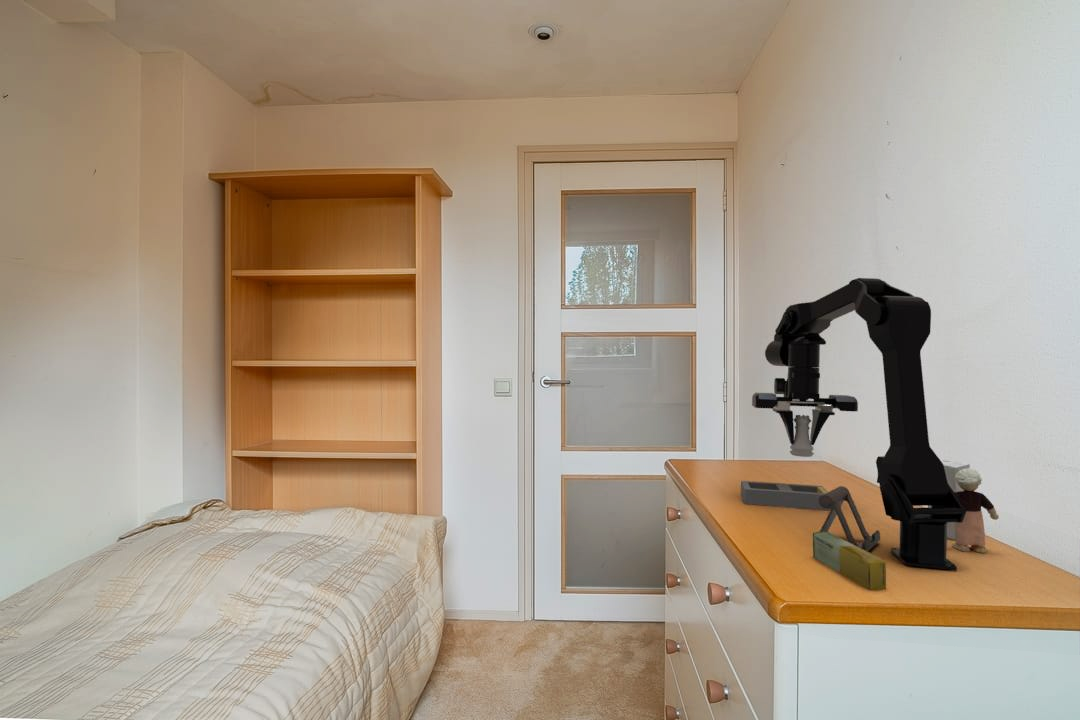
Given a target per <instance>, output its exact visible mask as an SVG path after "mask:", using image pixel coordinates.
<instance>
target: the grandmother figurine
mask: <svg viewBox="0 0 1080 720" xmlns="http://www.w3.org/2000/svg"><path fill="white" fill-rule="evenodd" d="M955 479H956V482H957V483H958V484H959V486H960V488H961V489H963V490H964V491H959V492H954V493H955V495H956V496H957V498H958V499H959V501H960V502H961V504H962V505H963V506H964V508H965V509H966V514H965V516H964V519H963V522H962V523H957V522H955V542H954V543H953V544H952V548H954V549H956V550H958V551H960V552H966V553H968V552H971V550H972V551H973V552H975V553H981V554H986V553H987V552H988V549H987V547H986V532H985V524H984V523H985V522H984V518H983V512H982V508H983V509H984V510H986V511H987V513H988V514H989V517H990V518H991V519H992V520H995V521H997V520H999V517H1000V516H999V514H998V513H997V510H996V509H995V506H994V505H993V503H992V502H991V501H990V499H988V497H987V496H986V495H985V494H984V493H982V492H979V491H976V490H978V488H979V486H980V485H982V481H983V479H982V477H981V474H980V473H979V472H978V470H976V469H973V468H971V467H970V468H965V469H962V470H959V472H957V474H956V475H955ZM969 546H970V547H969Z"/></svg>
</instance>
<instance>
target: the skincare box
mask: <svg viewBox="0 0 1080 720" xmlns="http://www.w3.org/2000/svg"><path fill="white" fill-rule="evenodd" d="M940 461H941V462H942V463H943V465H944V469H945V473H946V477H947V482H948V484H949V486H950V487H951V489H952V490H953V492H959V491H964V490H963V489H961V488H960V486H959V484H958V483H957V482H956V479H955V475H956V474H957V472H959V470H962V469H965V468H970V469H971V467H970V466H971V465H970V463H964V462H958V461H950V460H940ZM927 508H932V506H931V505H929V506H927ZM947 540H953V541H954V540H955V541H956V539H955V522H947Z"/></svg>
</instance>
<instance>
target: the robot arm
mask: <svg viewBox="0 0 1080 720" xmlns="http://www.w3.org/2000/svg"><path fill="white" fill-rule="evenodd" d="M852 312H855V313H856V314H857V315H858V316H860V318H862V319H863V320H864V321H865V322H866V326H867V331H868V337H869V338H870V340H871V341H872V343H874V345H875V346H876V348H877V349H878V350H879V351H880V353H881V356H882V366H883V377H884V389H885V399H886V400H885V401H886V410H887V422H888V433H889V434H888V435H889V447H888V449H887V451H886V453H885V455H883V456H877V458H876V460H875V464H876V469H877V479H876V483H877V484H879V490H880V495H881V498H882V504H883V508H884V512H885V515H886V516H887V517H890V518H891V520H893V521H898V522H899V547H890V552H891V553H892V554H893V555H894V556H895V557H896V558H897V559H898V560H900V562H902V563H903V564H904V565H906V566H909V567H910V566H911V567H920V568H932V569H942V570H952V571H957V570H958V566H957V565H956V564H955V563H954V562H952V561H951V560H949V559H948V558H947V549H948V548H947V546H948V545H947V544H948V542H947V541H948V538H947V522H957V523H962V522H963V519H964V516H965V514H966V509H965V508H964V506H963V505H962V504H961V502H960V501H959V499H958V498H957V496H956V495H955V493H954V492H953V490H952V489H951V487H950V486H949V484H948V482H947V477H946V473H945V469H944V465H943V463H942V462H941V461H942V460H941V459H940V458H939V456H938V455H937V454H936V453H935V451H934V449H932V448H931V446H930V438H929V428H928V427H929V426H928V419H927V409H926V407H927V406H926V397H925V396H926V395H925V388H924V387H925V386H924V378H923V376H924V375H923V368H922V367H923V366H922V357H921V350H922V349H923V347H924V345H925V343H926V341H927V340H928V338H929V337H930V335H931V327H932V326H931V324H932V323H931V322H932V308H931V305H930V304H929V302H928V301H926V300H925V299H924V298H922V297H919V296H914V295H913V294H912V293H910V292H908V291H904V290H902V289H900V288H897V287H894V286H892V285H890V284H889V283H887V282H886V281H885V280H883V279H881V278H874V277H873V278H871V277H870V278H869V277H867V278H864V277H857V278H855V279H851V280H850V281H849V283H848V284H846V285H844V286H842V287H840V288H838V289H836V290H834V291H832V292H830V293H828V294H825V296H822V297H820V298H818V299H817V300H814V301H810V302H808V301H807V302H801V303H800V302H799V303H796V304H795V303H794V304H791V305H789V306H787V308H786V309H785V311H784V312H783V315H782V316H781V319H780V322H779V323H778V325H777V326H776V328H775V330H774V331H775V334H774V335H773V340H772V341H771V342H769V343H768V344H767V346H766V348H765V351H764V356H765V359H766V361H767V362H768V363H769V364H770V365H772V366H775V367H787V378H786V379H785V378H783V377H775V378H774V382H773V383H774V384H773V385H774V386H773V388H774V390H773V391H774V392H755V393H753V394H752V398H751V399H752V400H751V406H752V407H754V408H756V409H772V411H773V412H775V413H776V414H779V416H780V418H781V420H782V422H783V424H784V428H785V430H786V435H787V437H788V439H789V442H790V443H789V444H791V445H792V444H794V438H795V430H794V429H795V426H794V413H793V412H794V411H793V410H791V407H813V408H814V409H811V412H812V414H811V415H812V420H811V427H810V434H809V440H810V443H811V445H812V446H814V445H815V443H816V441H817V439H818V437H819V434H820V433H821V430H822V429H823V427H824V425H825V424H826V422H827V420H828V419H829V417H830V416H835V415H836V413H835V411H833V410H834V409H838V411H839V412H858V411H859V410H858V409H859V403H858V399H857V398H856V397H854V396H852V395H848V394H847V395H846V394H829V396H828V397H821V396H820V378H821V373H820V360H821V359H820V357H821V356H820V354H821V353H820V352H821V345H822V346H824V345H826V344H827V341H826V340H825V338H823V337H822V336H821V333H824V332H825V331H826V330H827V329H828V328H829V327H831V322H833V321H834V320H835V319H839V318H840V317H843V316H845V315H848V314H849V313H852ZM777 395H783V396H777ZM929 505H931V506H932V508H928V506H929ZM916 506H917V507H916ZM918 506H920V507H918ZM921 506H923V507H921ZM924 506H927V507H924Z"/></svg>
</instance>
